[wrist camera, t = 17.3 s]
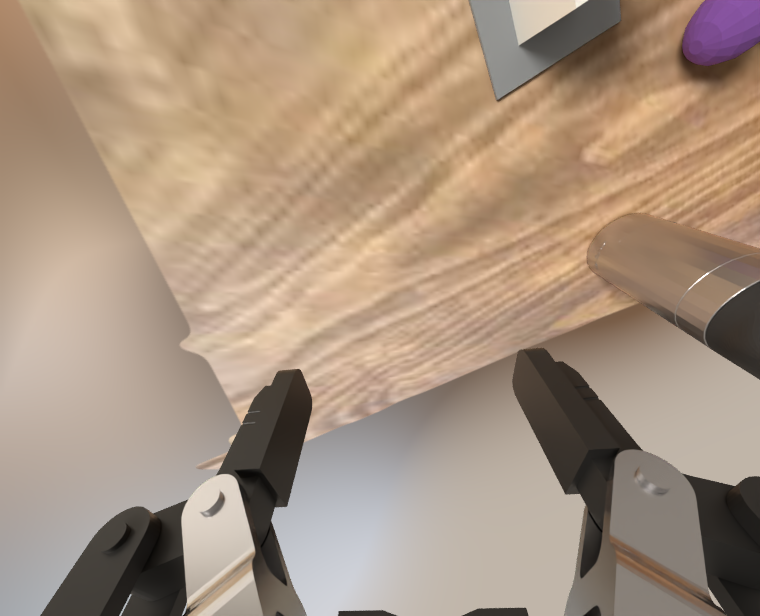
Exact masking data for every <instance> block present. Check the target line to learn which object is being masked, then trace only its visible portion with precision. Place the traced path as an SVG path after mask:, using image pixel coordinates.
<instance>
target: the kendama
mask: <svg viewBox="0 0 760 616" xmlns="http://www.w3.org/2000/svg"><path fill="white" fill-rule="evenodd" d="M758 42H760V0H705V1H704V2H703V3H702V4H701V5H700V7H699V8H698V10H697V11H696V12H695V14H694V15H693V16H692V18H691V20H690V21H689V23H688V25H687V27H686V28H685V33H684V37H683V44H682V47H683V54H684V55H685V57H686V58H687V59H688V60H689V61H691V62H692V63H695V64H698V65H705V66H710V65H714V64H718V63H721V62H724V61H727V60H731V59H734V58H736V57H737V56H739V55H741V54H742V53H744V52H745V51H747V50H748V49H750V48H751V47H753V46H754V45H756V44H757V43H758Z"/></svg>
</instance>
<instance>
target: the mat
mask: <svg viewBox="0 0 760 616" xmlns="http://www.w3.org/2000/svg"><path fill="white" fill-rule="evenodd" d="M469 3H470V7H471V10H472V14H473V18H474V21H475V25H476V29H477V32H478V36H479V39H480V43H481V47H482V50H483V54H484V58H485V61H486V65H487V68H488V72H489V76H490V79H491V83H492V87H493V90H494V94H495V97H496V100H498V99H500V98H501V97H503V96H504V95H506V94H507V93H509V92H510V91H512V90H514V89H515V88H517V87H518V86H520V85H521V84H523V83H525V82H526V81H528V80H529V79H531V78H532V77H534V76H535V75H537V74H539V73H540V72H542V71H543V70H545V69H546V68H548V67H550V66H551V65H553V64H554V63H556V62H557V61H559V60H560V59H562V58H564V57H565V56H567V55H568V54H570V53H571V52H573V51H575V50H576V49H578V48H579V47H581V46H582V45H584V44H585V43H587V42H589V41H590V40H592V39H593V38H595V37H596V36H598V35H600V34H601V33H603V32H604V31H606V30H607V29H609V28H610V27H612V26H614V25H615V24H617V23H618V22H620V21H621V14H620V0H588V1H586V2H585V3H583V4H582V5H580V6H579V7H577V8H576V9H574V10H573V11H571V12H570V13H568V14H567V15H565V16H564V17H562V18H560V19H559V20H557V21H556V22H554V23H553V24H551V25H550V26H548V27H547V28H545V29H543V30H542V31H540V32H539V33H537V34H536V35H534V36H533V37H531V38H530V39H528V40H527V41H525V42H523V43H522V44H520V45H518V40H517V36H516V31H515V26H514V22H513V17H512V12H511V8H510V3H509V0H469Z"/></svg>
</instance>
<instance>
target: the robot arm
mask: <svg viewBox="0 0 760 616" xmlns="http://www.w3.org/2000/svg"><path fill="white" fill-rule="evenodd" d="M587 263H588V265H589V267H590V269H591V270H592V271H593V272H595V273H596V274H598V275H599V276H601V277H602V278H604V279H605V280H607V281H608V282H610V283H611V284H613V285H614V286H616V287H617V288H619V289H620V290H622V291H623V292H625V293H626V294H628V295H629V296H631V297H632V298H634V299H635V300H637V301H638V302H640V303H641V304H643V305H645V306H646V307H648V308H649V309H651V310H652V311H654V312H655V313H657V314H658V315H660V316H661V317H663V318H664V319H666V320H667V321H669V322H670V323H672V324H673V325H675V326H676V327H678V328H680V329H681V330H683V331H684V332H686V333H687V334H689V335H691V336H692V337H694V338H695V339H697V340H698V341H700V342H701V343H703V344H704V345H706V346H707V347H709V348H710V349H712V350H713V351H715V352H717V353H718V354H720V355H721V356H723V357H725V358H726V359H728V360H729V361H731V362H733V363H734V364H736V365H737V366H739V367H741V368H742V369H744V370H746V371H747V372H749V373H750V374H752V375H753V376H755V377H757V378H758V379H760V248H756V247H753V246H750V245H747V244H743V243H740V242H737V241H733V240H730V239H727V238H724V237H720V236H717V235H714V234H710V233H707V232H704V231H701V230H697V229H694V228H691V227H687V226H684V225H681V224H678V223H675V222H671V221H668V220H665V219H662V218H658V217H655V216H652V215H648V214H644V213H634V214H629V215H626V216H623V217H620V218H618V219H616V220H614V221H613V222H611V223H610V224H608V225H607V226H606V227H605V228H603V229H602V230H601V231H600V232H599V233H598V234H597V236H596V237H595V238H594V240H593V241H592V243H591V245H590V247H589V250H588V254H587ZM513 389H514V393H515V396H516V397H517V400H518V402H519V404H520V406H521V408H522V410H523V411H524V413H525V415H526V417H527V419H528V421H529V423H530V425H531V427H532V429H533V431H534V433H535V435H536V437H537V439H538V441H539V443H540V445H541V447H542V449H543V451H544V453H545V455H546V457H547V459H548V461H549V463H550V465H551V467H552V469H553V471H554V473H555V475H556V477H557V479H558V480H559V482H560V484H561V486H562V488H563V490H564V492H565V494H580V495H581V496H582V498H583V500H584V502H585V504H586V506H585V508H584V514H583V521H582V528H581V535H580V542H579V549H578V556H577V564H576V571H575V577H574V581H573V585H572V588H571V591H570V593H569V597H568V600H567V604H566V609H565V614H564V616H760V477H757V476H754V477H748V478H745V479H744V480H742V481H741V482H740V483H739V484H738V485H736V486H732V485H727V484H723V483H719V482H715V481H710V480H706V479H702V478H697V477H693V476H689V475H686V474H682V473H680V471H678V470H677V469H676V468H675V467H674V466H672V465H671V464H670V463H668V462H667V461H665V460H663V459H661V458H660V457H658V456H656V455H653V454H651V453H648V452H645V451H643V450H642V449H641V448H640V447H639V446H638V445H637V444H636V442H635V441H634V440H633V439H632V437H631V436H630V435H629V434H628V433H627V432H626V430H625V429H624V428H623V426H622V425H621V424H620V423H619V422H618V421H617V419H616V418H615V417H614V415H613V414H612V413H611V412H610V411H609V409H608V408H607V407H606V406H605V404H604V403H603V402H602V401H601V400H599V399H598V396H597V395H596V393H595V392H594V391H593V390H592V389H591V388H589V385H588V384H587V382H586V381H585V380H584V379H583V378H582V376H581V375H580V374H579V373H578V372H577V371H576V370H574V369H573V368H571V367H570V366H568V365H567V364H565V363H564V362H555V361H554V360H553V358H552V357H551V356H550V354H549V353H548V352H547V350H545V349H544V348H536V349H523V350H519V351H518V354H517V359H516V364H515V369H514V375H513ZM311 411H312V397H311V394H310V391H309V389H308V386H307V384H306V381H305V379H304V376H303V374H302V372H301V370H300V369H293V370H282V371H278V372H277V374H276V376H275V378H274V380H273V383H272V385H271V386H265V387H264V388H263V389H262V390H261V391H260V392H259V394H258V395H257V396H256V397H255V398H254V400H253V402H252V404H251V406H250V408H249V410H248V414H246V416H245V418H244V420H243V422H242V423H243V425H241V427H240V429H239V431H238V433H237V435H236V437H235V439H234V441H233V443H232V445H231V447H230V449H229V451H228V453H227V455H226V458H225V460H224V462H223V464H222V466H221V468H220V470H219V471H218V473H217V475H216V476H215V477H212V478H210V479H208V480H207V481H205V482H204V483H203V484H202V485H200V486H199V487H198V488H197V489H196V490H195V492H194V493H193V494H192V495H191V497H190V498H189V499H188V500H186V501H183V502H181V503H178V504H176V505H173V506H171V507H168V508H166V509H163V510H161V511H158V512H156V513H154V514H153V513H151V512H150V511H149V510H147V509H145V508H144V507H132V508H130V509H127V510H125V511H123V512H121V513H119V514H118V515H116V516H115V517H114V518H112V519H111V520H110V521H109V522H107V523H106V524H105V525H104V526H103V527H102V528H101V529H100V530H99V531H98V532H97V534H96V535H95V536H94V537H93V539H92V540H91V541H90V543H89V544H88V546H87V547H86V549H85V550H84V552H83V553H82V555H81V556H80V558H79V559H78V561H77V562H76V563H75V565H74V566H73V568H72V569H71V571H70V572H69V574H68V575H67V577H66V578H65V580H64V581H63V583H62V584H61V586H60V587H59V589H58V590H57V592H56V593H55V595H54V596H53V598H52V599H51V601H50V602H49V604H48V605H47V606H46V608H45V609H44V611H43V613H42V614H41V616H119V615H120V613H121V611H122V609H123V607H124V605H125V603H126V601H127V599H128V597H129V595H130V594H132V596H131V597H130V599H129V602H128V603H127V605H126V607H125V609H124V611H123V613H122V615H121V616H182V613H183V611H184V608H185V606H186V603H187V609H186V612H185V614H184V615H183V616H307V615H306V612H305V610H304V608H303V605H302V603H301V601H300V599H299V598H298V595H297V594H296V592H295V590H294V587H293V585H292V582H291V579H290V576H289V573H288V570H287V567H286V564H285V561H284V558H283V555H282V552H281V549H280V545H279V543H278V540H277V536H276V533H275V530H274V527H273V524H272V522H271V518H272V515H273V512H274V508H275V507H287V505H288V501H289V497H290V493H291V489H292V485H293V481H294V478H295V474H296V470H297V466H298V462H299V458H300V454H301V450H302V446H303V442H304V439H305V435H306V431H307V427H308V423H309V419H310V415H311ZM708 587H709V589H710V590H711V592H712V593H713V595H714V596H715V598H716V599H717V600H718V602H719V604H720V605H721V607H722V608H723V610H724V611H725V612H724V611H723V610H722V609H721V608H720V607H718V606H716V605H715V604H714V603H713V601H712V600H711V597H710V595H709V591H708ZM338 616H396V615H394V614H391V613H388V612H386V611H383V610H382V611H380V610H379V611H339V614H338ZM463 616H528V613H527V609H526V608H489V609H488V608H487V609H476V610H474V611H472V612H469V613H467V614H465V615H463Z"/></svg>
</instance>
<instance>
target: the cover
mask: <svg viewBox="0 0 760 616" xmlns="http://www.w3.org/2000/svg"><path fill="white" fill-rule="evenodd" d="M586 1H588V0H509V3H510V8H511V12H512V17H513V22H514V26H515V31H516V36H517V40H518V45H520V44H522V43H523V42H525V41H527V40H528V39H530V38H531V37H533V36H534V35H536V34H537V33H539V32H540V31H542V30H543V29H545V28H547V27H548V26H550V25H551V24H553V23H554V22H556V21H557V20H559V19H560V18H562V17H564V16H565V15H567V14H568V13H570V12H571V11H573V10H574V9H576V8H577V7H579V6H580V5H582V4H583V3H585V2H586Z"/></svg>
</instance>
